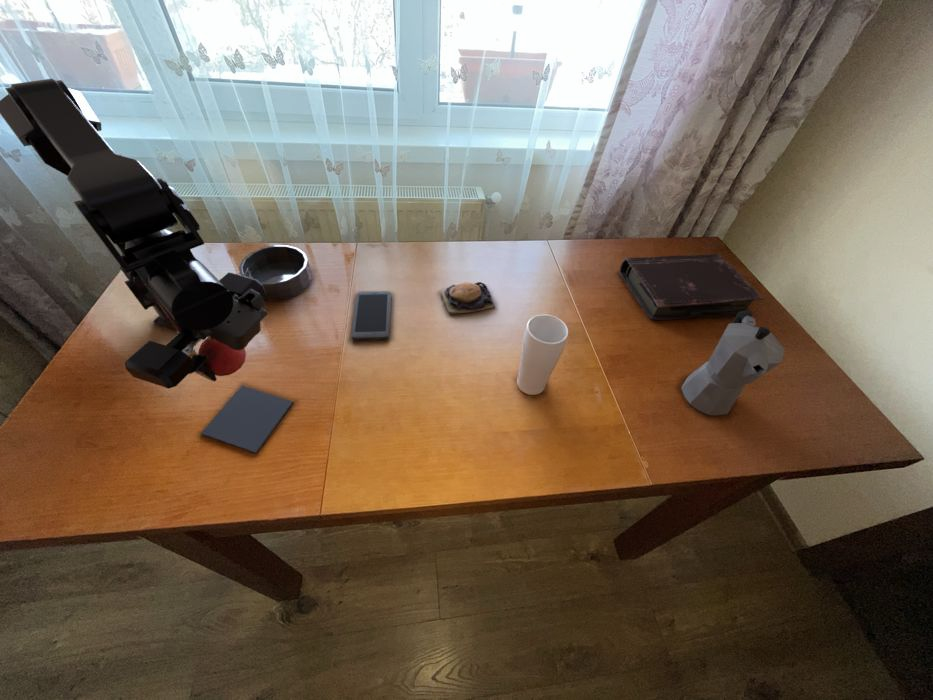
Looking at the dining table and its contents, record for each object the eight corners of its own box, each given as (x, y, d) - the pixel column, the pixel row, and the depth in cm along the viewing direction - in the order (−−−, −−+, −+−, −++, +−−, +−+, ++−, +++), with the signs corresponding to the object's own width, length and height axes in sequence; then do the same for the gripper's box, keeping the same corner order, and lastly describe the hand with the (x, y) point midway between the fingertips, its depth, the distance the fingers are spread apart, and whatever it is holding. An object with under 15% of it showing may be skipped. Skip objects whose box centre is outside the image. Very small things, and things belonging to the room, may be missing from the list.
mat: (201, 434, 64) (200, 433, 63) (243, 386, 70) (242, 385, 70) (256, 453, 62) (255, 452, 62) (293, 402, 69) (292, 401, 68)
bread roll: (449, 317, 85) (449, 304, 82) (439, 291, 90) (439, 278, 87) (496, 309, 87) (498, 296, 84) (484, 284, 92) (485, 272, 90)
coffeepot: (736, 432, 70) (809, 369, 57) (681, 417, 72) (739, 351, 58) (726, 368, 80) (786, 301, 67) (678, 355, 82) (726, 287, 68)
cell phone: (351, 340, 78) (350, 337, 78) (357, 293, 88) (356, 291, 87) (389, 339, 79) (389, 336, 79) (391, 293, 88) (390, 290, 88)
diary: (617, 271, 99) (624, 254, 95) (707, 266, 103) (718, 250, 99) (651, 324, 87) (660, 307, 83) (752, 317, 91) (766, 300, 87)
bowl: (233, 291, 86) (224, 274, 82) (271, 256, 94) (265, 239, 91) (289, 307, 84) (283, 290, 80) (323, 269, 92) (319, 253, 89)
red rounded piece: (239, 390, 59) (216, 354, 52) (202, 382, 59) (176, 346, 53) (260, 360, 62) (241, 324, 56) (226, 353, 63) (203, 316, 57)
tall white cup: (551, 376, 76) (572, 320, 65) (544, 404, 72) (565, 349, 60) (517, 366, 77) (531, 309, 66) (508, 393, 73) (521, 336, 61)
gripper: (173, 356, 41) (232, 433, 52) (282, 254, 53) (310, 335, 64) (84, 328, 42) (160, 409, 54) (209, 235, 54) (249, 318, 66)
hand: (227, 364), depth 59 cm, fingers closed on red rounded piece, 6 cm apart
